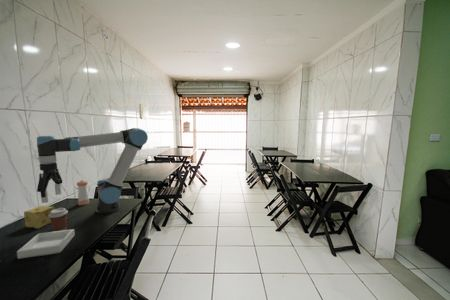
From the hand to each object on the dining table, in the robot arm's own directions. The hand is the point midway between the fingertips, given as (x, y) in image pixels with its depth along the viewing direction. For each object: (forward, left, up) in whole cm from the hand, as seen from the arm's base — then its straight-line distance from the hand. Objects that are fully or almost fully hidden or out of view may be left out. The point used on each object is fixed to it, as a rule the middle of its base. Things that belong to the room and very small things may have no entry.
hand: (52, 198), depth 118 cm
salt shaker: (-1, -41, -19) cm, 45 cm away
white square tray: (-6, +19, -19) cm, 28 cm away
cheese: (+12, -10, -20) cm, 25 cm away
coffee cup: (-3, +1, -19) cm, 20 cm away
